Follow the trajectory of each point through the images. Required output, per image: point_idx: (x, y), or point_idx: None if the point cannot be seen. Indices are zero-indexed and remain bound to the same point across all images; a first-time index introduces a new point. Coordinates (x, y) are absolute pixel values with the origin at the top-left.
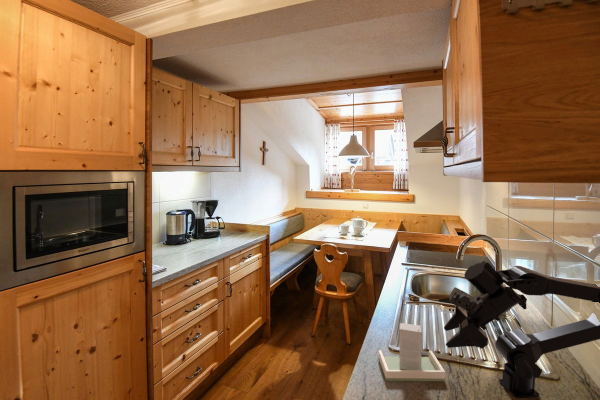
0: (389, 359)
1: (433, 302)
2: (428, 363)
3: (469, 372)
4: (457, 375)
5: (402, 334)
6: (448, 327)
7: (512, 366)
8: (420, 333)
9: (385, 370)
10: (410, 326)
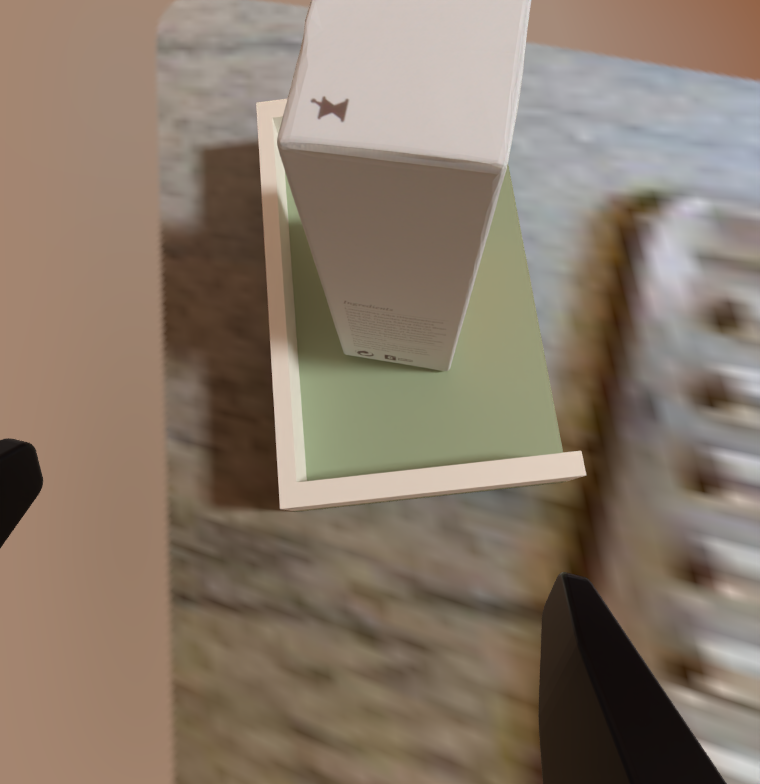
0: None
1: None
2: (469, 434)
3: (431, 756)
4: (378, 634)
5: None
6: (557, 662)
7: None
8: (283, 140)
9: (280, 107)
10: (444, 21)
